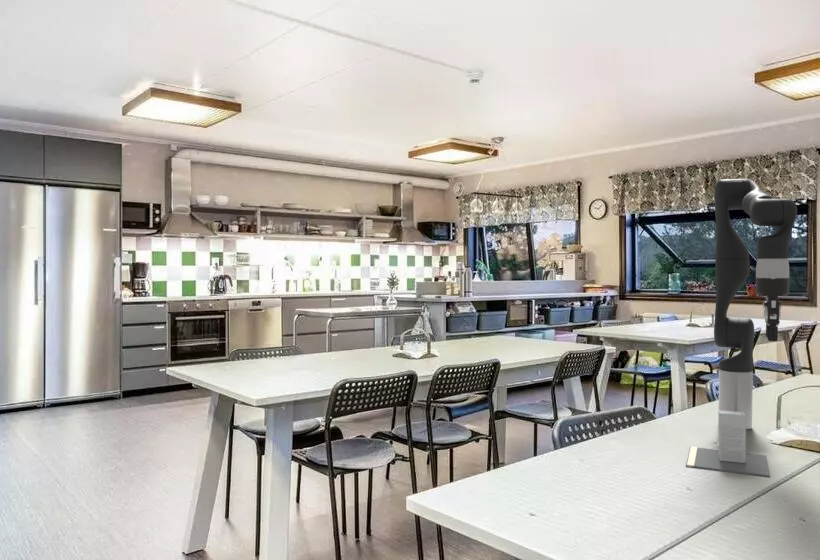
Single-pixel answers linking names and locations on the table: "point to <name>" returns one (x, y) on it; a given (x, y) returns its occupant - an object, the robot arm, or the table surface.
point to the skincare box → (732, 436)
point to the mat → (711, 461)
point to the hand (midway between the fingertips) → (771, 339)
